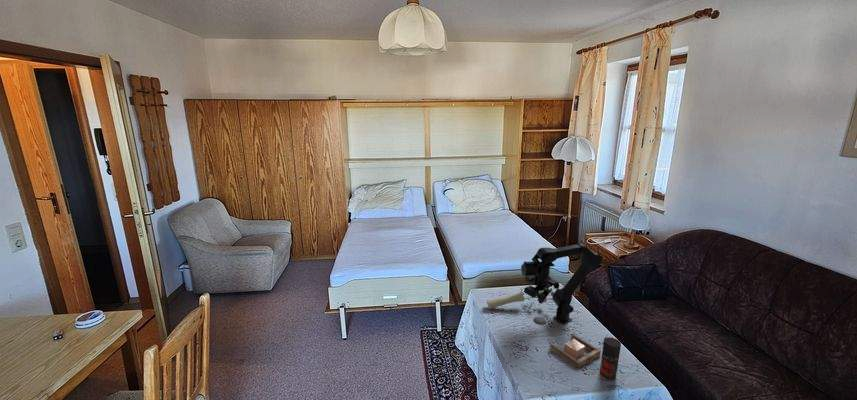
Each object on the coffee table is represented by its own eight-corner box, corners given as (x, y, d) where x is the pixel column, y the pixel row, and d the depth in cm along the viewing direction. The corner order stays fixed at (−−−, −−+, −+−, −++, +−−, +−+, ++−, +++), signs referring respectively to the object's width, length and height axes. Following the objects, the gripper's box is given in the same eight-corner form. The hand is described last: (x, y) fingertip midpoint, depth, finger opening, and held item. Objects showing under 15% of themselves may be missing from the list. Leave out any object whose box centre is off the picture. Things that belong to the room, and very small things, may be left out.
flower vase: (489, 317, 194) (551, 302, 195) (494, 324, 182) (560, 307, 183) (484, 296, 195) (546, 281, 196) (488, 301, 183) (554, 285, 184)
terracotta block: (572, 346, 159) (573, 338, 158) (584, 354, 155) (585, 346, 154) (563, 351, 156) (564, 343, 155) (575, 359, 151) (576, 351, 150)
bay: (572, 338, 165) (572, 333, 164) (600, 355, 153) (600, 350, 153) (550, 349, 157) (550, 344, 157) (577, 368, 146) (578, 363, 145)
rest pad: (539, 316, 182) (539, 315, 182) (548, 322, 177) (548, 321, 177) (530, 319, 179) (530, 319, 179) (540, 325, 174) (540, 325, 174)
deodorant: (596, 369, 145) (600, 337, 141) (610, 369, 145) (615, 336, 142) (604, 380, 139) (609, 347, 136) (619, 379, 140) (624, 346, 136)
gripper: (543, 263, 183) (540, 291, 187) (516, 272, 174) (514, 301, 178) (561, 272, 174) (558, 300, 178) (534, 281, 165) (532, 311, 168)
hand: (540, 303), depth 176 cm, fingers closed
